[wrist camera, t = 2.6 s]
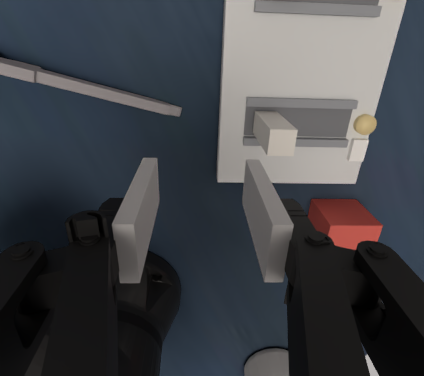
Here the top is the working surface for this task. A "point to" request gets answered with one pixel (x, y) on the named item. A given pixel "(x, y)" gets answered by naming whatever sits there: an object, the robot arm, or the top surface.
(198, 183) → the top surface
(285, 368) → the soap bottle
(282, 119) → the block
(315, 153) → the panel
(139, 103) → the caliper
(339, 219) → the brick-red cube
